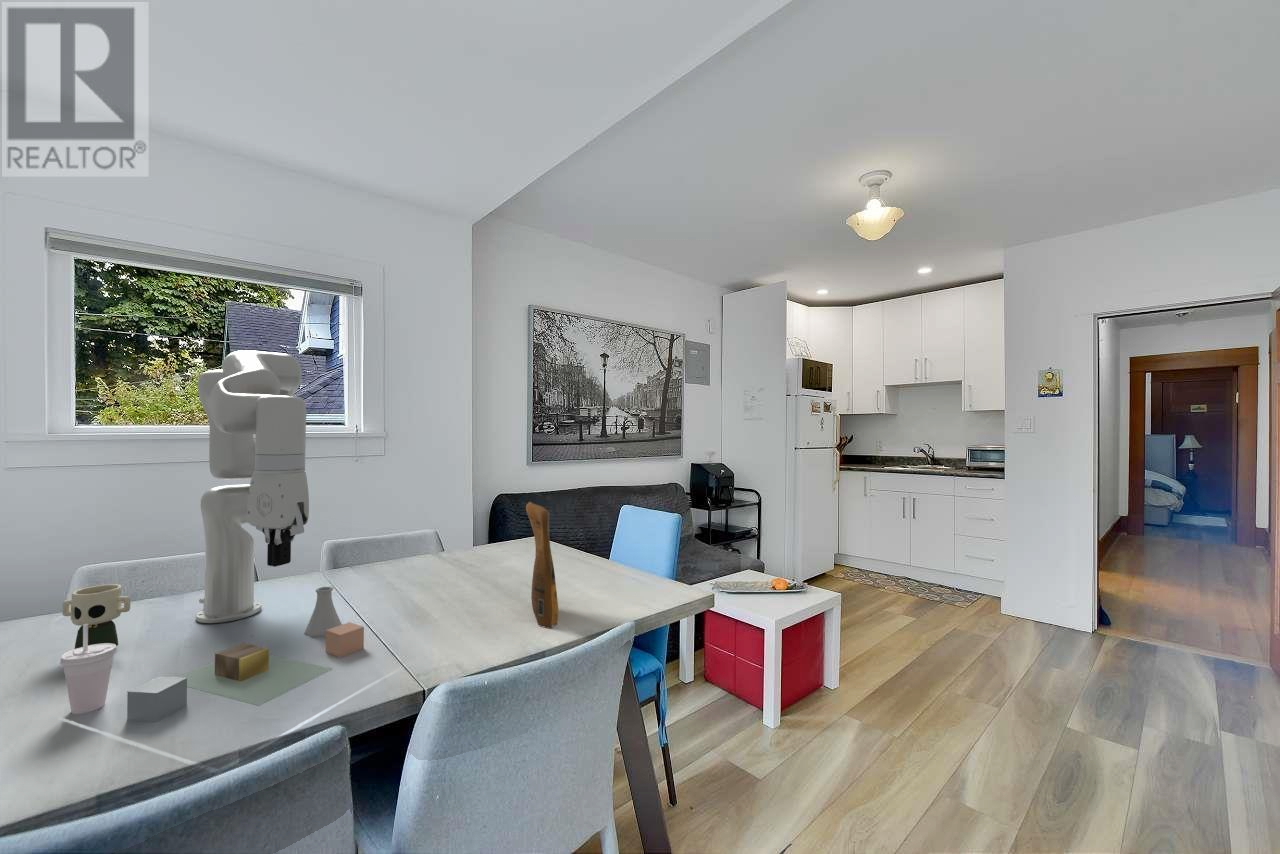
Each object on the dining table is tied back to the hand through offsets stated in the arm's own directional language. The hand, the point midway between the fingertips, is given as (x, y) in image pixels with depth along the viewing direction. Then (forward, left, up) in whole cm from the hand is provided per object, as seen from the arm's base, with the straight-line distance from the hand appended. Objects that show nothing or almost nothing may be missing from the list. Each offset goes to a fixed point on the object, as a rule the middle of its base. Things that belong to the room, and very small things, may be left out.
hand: (279, 564), depth 95 cm
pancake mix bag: (+28, +46, -22) cm, 58 cm away
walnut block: (-6, 0, -19) cm, 20 cm away
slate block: (-8, -14, -22) cm, 27 cm away
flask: (-13, +20, -22) cm, 32 cm away
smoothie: (-20, -17, -22) cm, 34 cm away
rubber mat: (-7, 0, -22) cm, 23 cm away
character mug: (-46, -4, -22) cm, 51 cm away
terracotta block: (0, +14, -22) cm, 26 cm away
